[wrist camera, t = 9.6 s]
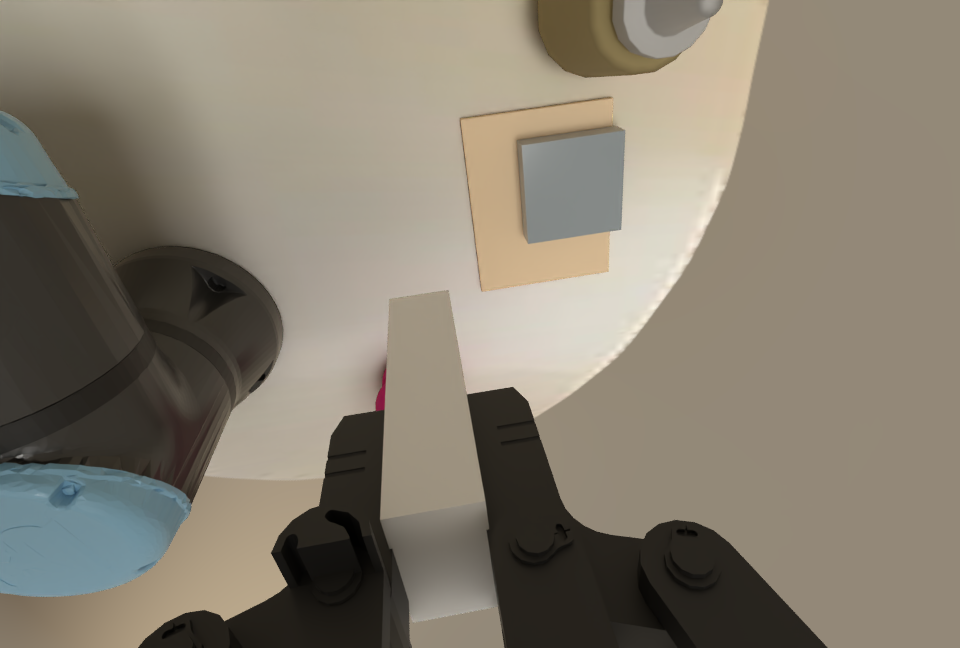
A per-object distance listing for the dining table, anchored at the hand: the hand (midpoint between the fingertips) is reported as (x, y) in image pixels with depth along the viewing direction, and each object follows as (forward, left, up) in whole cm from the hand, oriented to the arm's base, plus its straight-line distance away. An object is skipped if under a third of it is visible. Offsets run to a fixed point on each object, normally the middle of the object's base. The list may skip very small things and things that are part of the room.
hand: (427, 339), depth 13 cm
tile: (+8, -6, -28) cm, 30 cm away
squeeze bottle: (+13, +6, -30) cm, 34 cm away
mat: (+10, -7, -30) cm, 32 cm away
